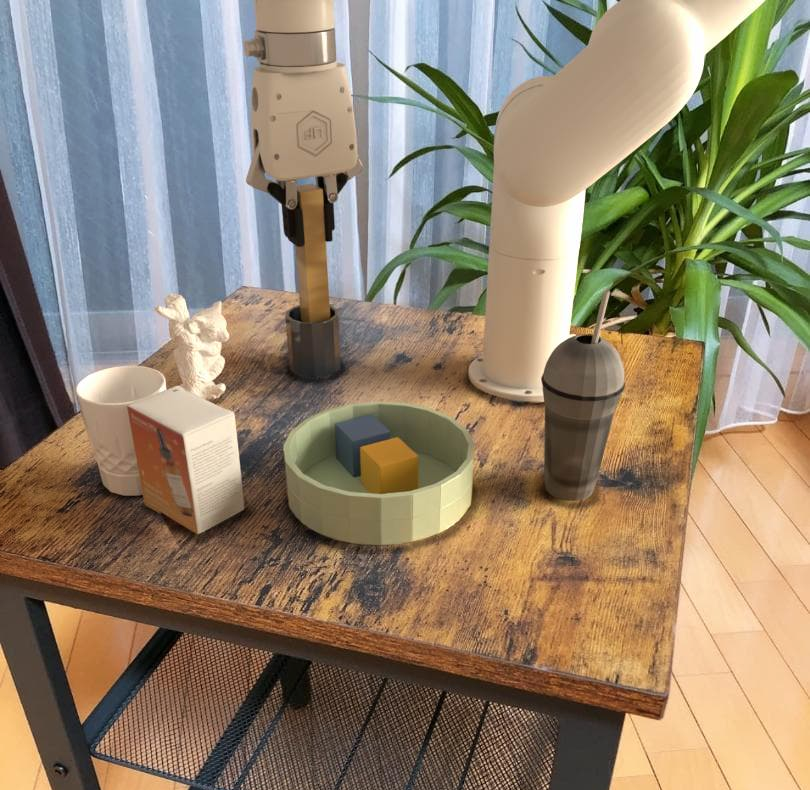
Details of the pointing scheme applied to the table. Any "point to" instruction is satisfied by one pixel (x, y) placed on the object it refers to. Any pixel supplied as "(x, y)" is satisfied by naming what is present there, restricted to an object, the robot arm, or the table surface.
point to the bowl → (380, 513)
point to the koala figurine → (197, 345)
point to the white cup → (116, 421)
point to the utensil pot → (313, 344)
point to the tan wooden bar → (312, 257)
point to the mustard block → (389, 467)
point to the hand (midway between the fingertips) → (310, 239)
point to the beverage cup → (579, 410)
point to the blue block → (357, 440)
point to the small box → (187, 458)
